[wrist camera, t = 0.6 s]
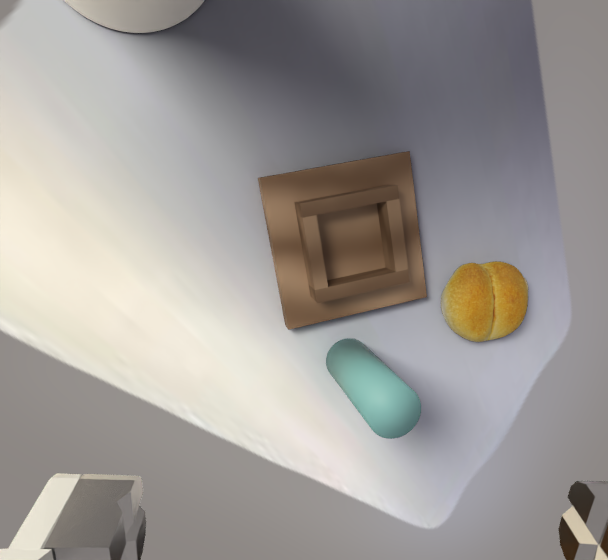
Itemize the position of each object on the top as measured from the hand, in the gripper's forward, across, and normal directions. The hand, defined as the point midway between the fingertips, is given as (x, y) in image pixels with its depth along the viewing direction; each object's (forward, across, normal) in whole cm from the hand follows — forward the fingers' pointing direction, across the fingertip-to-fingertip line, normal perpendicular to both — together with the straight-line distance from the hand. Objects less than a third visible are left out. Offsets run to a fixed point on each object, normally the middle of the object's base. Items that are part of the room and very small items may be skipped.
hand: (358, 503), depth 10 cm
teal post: (+37, -5, +18) cm, 42 cm away
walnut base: (+39, -4, +6) cm, 40 cm away
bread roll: (+41, -19, +13) cm, 47 cm away
